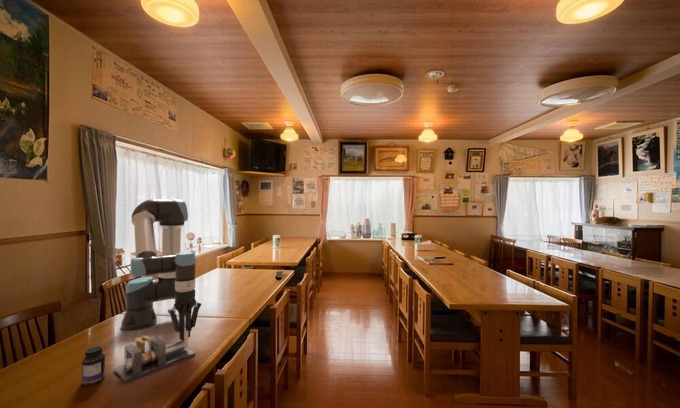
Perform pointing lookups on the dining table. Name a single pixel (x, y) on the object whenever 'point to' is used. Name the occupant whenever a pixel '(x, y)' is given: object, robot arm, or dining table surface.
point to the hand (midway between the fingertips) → (184, 346)
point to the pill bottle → (93, 366)
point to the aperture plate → (141, 342)
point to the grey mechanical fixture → (158, 364)
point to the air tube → (151, 355)
